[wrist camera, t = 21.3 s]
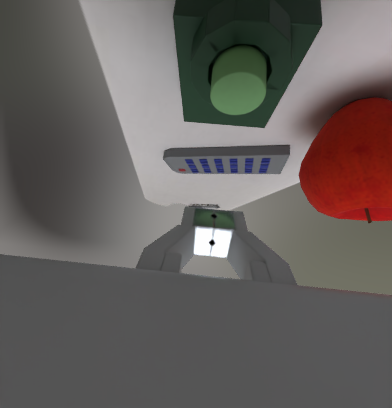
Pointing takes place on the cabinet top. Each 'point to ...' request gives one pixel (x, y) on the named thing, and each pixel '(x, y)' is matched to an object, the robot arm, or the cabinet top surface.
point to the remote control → (228, 160)
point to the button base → (240, 35)
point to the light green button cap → (238, 80)
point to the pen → (205, 206)
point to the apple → (352, 163)
